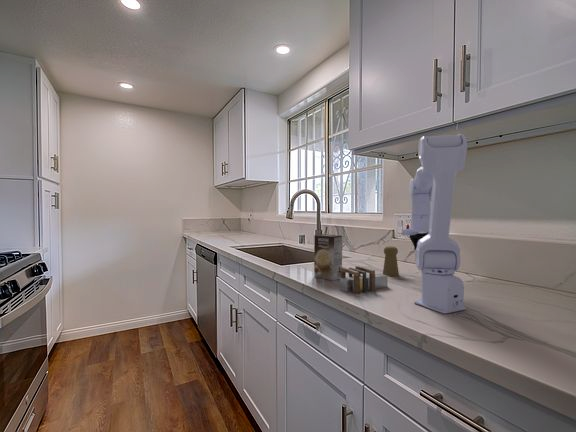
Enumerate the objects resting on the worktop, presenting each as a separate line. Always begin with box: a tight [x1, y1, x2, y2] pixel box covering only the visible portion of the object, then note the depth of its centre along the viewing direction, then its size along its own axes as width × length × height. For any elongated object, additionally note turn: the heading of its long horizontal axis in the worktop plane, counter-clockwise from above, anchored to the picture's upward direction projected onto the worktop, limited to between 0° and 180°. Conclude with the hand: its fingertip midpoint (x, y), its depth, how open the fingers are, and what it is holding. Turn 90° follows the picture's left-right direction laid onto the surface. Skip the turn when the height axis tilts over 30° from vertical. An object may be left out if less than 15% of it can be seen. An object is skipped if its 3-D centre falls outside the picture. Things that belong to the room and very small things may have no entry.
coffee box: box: [313, 233, 343, 281], centre depth 110 cm, size 9×6×16 cm
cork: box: [382, 246, 400, 277], centre depth 114 cm, size 6×6×11 cm
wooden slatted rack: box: [339, 265, 376, 295], centre depth 93 cm, size 8×7×6 cm
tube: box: [339, 272, 389, 294], centre depth 94 cm, size 16×4×4 cm, turn 113°
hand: (420, 256), depth 96 cm, fingers closed
